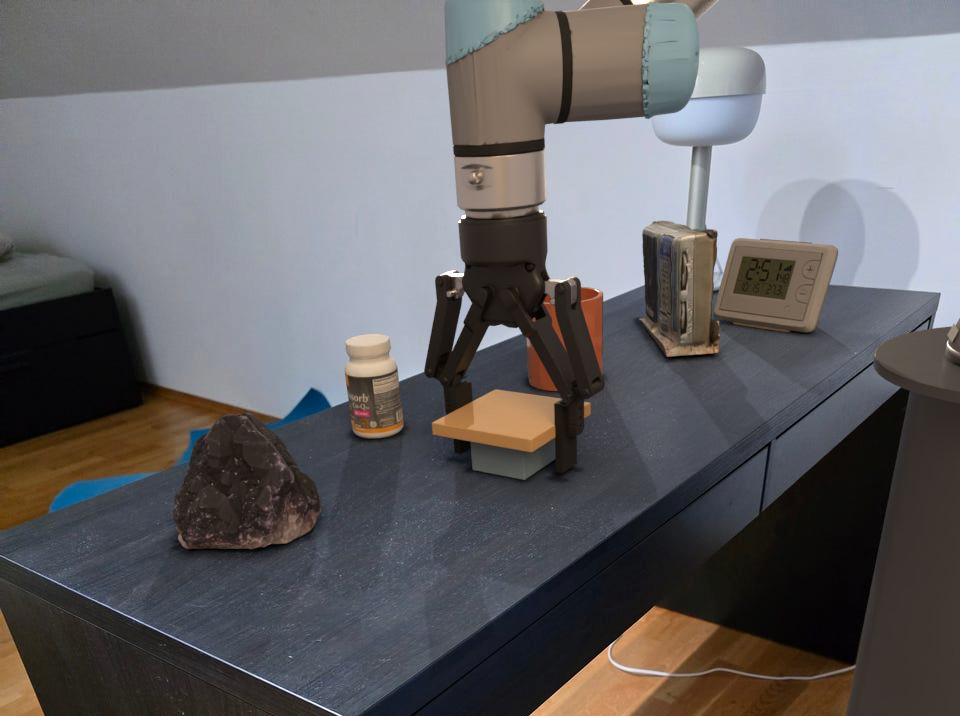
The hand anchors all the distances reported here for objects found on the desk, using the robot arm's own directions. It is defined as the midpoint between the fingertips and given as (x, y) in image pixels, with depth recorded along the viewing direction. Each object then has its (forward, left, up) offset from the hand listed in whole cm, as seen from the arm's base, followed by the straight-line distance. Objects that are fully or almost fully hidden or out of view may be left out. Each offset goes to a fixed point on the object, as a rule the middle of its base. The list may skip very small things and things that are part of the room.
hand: (514, 458), depth 86 cm
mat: (0, 0, +3) cm, 3 cm away
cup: (+9, -26, -1) cm, 28 cm away
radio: (+5, -48, -1) cm, 48 cm away
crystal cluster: (+14, +22, -1) cm, 26 cm away
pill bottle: (+19, -2, -1) cm, 19 cm away
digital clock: (-5, -59, -1) cm, 59 cm away
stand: (0, 0, -1) cm, 1 cm away
